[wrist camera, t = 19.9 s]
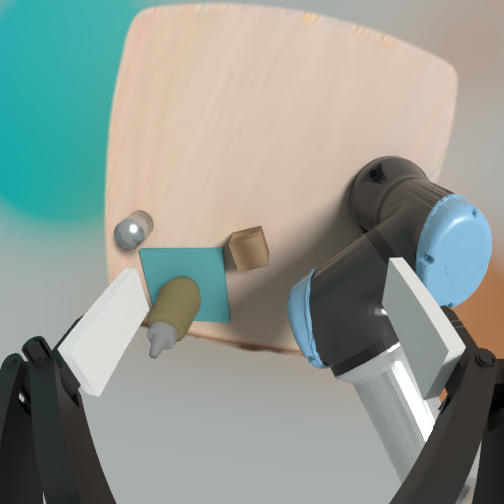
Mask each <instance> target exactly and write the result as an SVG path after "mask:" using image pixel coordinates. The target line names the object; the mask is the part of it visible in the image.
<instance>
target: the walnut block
mask: <svg viewBox="0 0 504 504" xmlns="http://www.w3.org/2000/svg"><path fill="white" fill-rule="evenodd" d="M229 247H230V250H231V253H232V256H233V258H234V261H235V264H236V267H237V269H238V272H240V271H245V270H249V269H254V268H258V267H263V266H267V265H268V263H269V250H268V246H267V243H266V240H265V236H264V233H263V230H262V226H258V227H254V228H250V229H246V230H242V231H238V232H234V233H233V234H232V237H231V239H230V242H229Z"/></svg>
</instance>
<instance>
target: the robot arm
mask: <svg viewBox="0 0 504 504" xmlns="http://www.w3.org/2000/svg"><path fill="white" fill-rule="evenodd" d="M350 209H351V214H352V217H353V219H354V221H355V223H356V225H357V226H358V227H359V229H360V230H361V231H362V233H363V235H362V236H361V237H359V238H358V239H357V240H355V241H354V242H353V243H351V244H350V245H348V246H347V247H346V248H344V249H343V250H342V251H340V252H339V253H337V254H336V255H335V256H333V257H332V258H330V259H329V260H328V261H326V262H325V263H323V264H322V265H320V266H319V267H318V266H317V267H315V268H314V269H312V271H311V272H310V273H309V274H308V275H307V276H306V277H304V278H303V279H302V280H300V281H299V282H298V283H296V284H295V285H294V286H293V288H292V289H291V291H290V294H289V298H288V317H289V322H290V326H291V329H292V332H293V335H294V338H295V340H296V342H297V344H298V346H299V348H300V350H301V352H302V353H303V355H304V356H305V357H308V361H309V362H310V363H311V364H312V365H313V366H314V367H317V368H320V369H322V368H325V369H326V368H329V367H330V368H331V370H332V372H333V374H334V376H335V378H336V379H338V380H342V381H345V382H348V383H351V384H353V385H354V387H355V389H356V391H357V393H358V395H359V396H360V399H361V401H362V403H363V405H364V406H365V409H366V411H367V413H368V414H369V417H370V419H371V421H372V423H373V425H374V427H375V429H376V431H377V433H378V435H379V437H380V439H381V441H382V443H383V445H384V447H385V449H386V451H387V453H388V455H389V458H390V460H391V462H392V464H393V466H394V468H395V470H396V473H397V474H398V477H399V479H400V481H401V483H402V485H401V487H400V489H399V490H398V492H397V493H396V495H395V496H394V498H393V499H392V501H391V502H390V503H389V504H504V359H496V357H495V355H494V354H493V353H492V352H491V351H489V350H487V349H483V348H478V347H477V345H476V343H475V342H474V340H473V339H472V337H471V336H470V334H469V333H468V331H467V330H466V328H465V327H463V324H462V322H461V321H459V318H458V317H457V315H456V314H455V313H454V311H452V310H451V309H450V308H452V307H455V306H457V305H459V304H460V303H462V302H464V301H465V300H466V299H467V298H468V297H470V296H471V294H472V293H473V292H474V291H475V290H476V289H477V287H478V286H479V284H480V283H481V281H482V279H483V277H484V275H485V273H486V271H487V268H488V263H489V260H490V257H491V251H492V235H491V230H490V227H489V224H488V221H487V219H486V217H485V216H484V214H483V213H482V212H481V211H480V210H479V209H478V208H477V207H475V206H474V205H473V204H472V203H470V202H469V201H467V199H466V198H464V197H463V196H461V195H458V194H455V193H453V192H451V191H449V190H447V189H444V188H443V187H440V186H439V185H437V184H434V183H432V182H430V181H429V180H428V178H427V176H426V175H425V173H424V172H423V171H422V169H421V168H420V167H418V166H417V165H416V164H414V163H413V162H411V161H409V160H407V159H404V158H401V157H397V156H385V157H380V158H378V159H375V160H373V161H371V162H370V163H368V164H367V165H366V166H365V167H364V168H363V169H362V170H361V171H360V172H359V174H358V175H357V177H356V178H355V180H354V183H353V185H352V188H351V193H350ZM447 306H448V307H449V308H448V307H447ZM148 311H149V307H148V304H147V301H146V298H145V294H144V291H143V288H142V285H141V282H140V278H139V275H138V272H137V268H125V269H124V270H123V271H122V272H121V273H120V275H119V276H118V277H117V278H116V279H115V280H114V281H113V282H112V283H111V285H110V286H109V287H108V288H107V289H106V290H105V291H104V293H103V294H102V295H101V296H100V297H99V298H98V299H97V301H96V302H95V303H94V304H93V305H92V307H91V308H90V309H89V310H88V311H87V313H86V314H84V315H83V316H81V317H80V318H79V319H77V320H76V321H75V322H74V324H73V325H72V326H71V328H69V330H68V331H67V333H66V334H65V335H64V336H63V337H62V339H61V340H60V341H59V342H58V344H57V345H56V346H55V347H54V349H53V350H52V351H51V349H50V347H49V345H48V344H47V342H46V340H45V339H44V338H43V337H42V336H37V337H33V338H31V339H29V340H28V341H27V342H26V343H25V344H24V345H23V347H22V352H23V353H24V355H25V356H26V358H27V359H28V361H24V360H23V358H22V357H21V355H20V354H18V353H14V354H11V355H9V356H7V358H6V359H5V360H4V362H3V364H2V366H1V369H0V504H43V493H44V496H45V500H46V504H116V502H115V499H114V497H113V495H112V493H111V490H110V488H109V485H108V483H107V481H106V478H105V476H104V473H103V470H102V468H101V465H100V462H99V459H98V456H97V453H96V450H95V447H94V444H93V440H92V437H91V434H90V430H89V427H88V423H87V419H86V415H85V411H84V407H83V403H82V398H81V395H80V393H79V391H78V388H79V387H80V385H81V386H82V387H83V389H84V390H85V392H86V393H87V394H91V395H94V396H98V397H100V394H101V393H102V391H103V389H104V387H105V386H106V384H107V382H108V380H109V378H110V376H111V374H112V373H113V371H114V369H115V367H116V366H117V364H118V362H119V360H120V359H121V357H122V355H123V353H124V351H125V350H126V348H127V346H128V345H129V343H130V341H131V340H132V337H133V336H134V334H135V333H136V331H137V329H138V328H139V326H140V324H141V323H142V321H143V319H144V318H145V316H146V314H147V313H148ZM444 387H445V388H446V391H447V393H448V395H447V396H446V398H445V399H444V401H443V402H442V404H441V402H440V400H439V396H440V394H441V392H442V391H443V389H444ZM19 393H21V395H22V396H23V397H24V402H22V401H21V400H20V399H19ZM481 439H482V442H481ZM480 442H481V453H480V461H479V468H478V474H477V478H472V477H469V472H470V470H471V467H472V464H473V462H474V459H475V456H476V453H477V451H478V448H479V445H480Z"/></svg>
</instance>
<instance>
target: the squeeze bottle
mask: <svg viewBox="0 0 504 504" xmlns="http://www.w3.org/2000/svg"><path fill="white" fill-rule="evenodd" d="M200 306H201V296H200V290H199V286H198V285H197V283H196V282H195V281H194V280H193V279H191V278H190V277H186V276H178V277H176V278H174V279H172V280H170V281H169V282H167V283H165V284H163V286H162V287H161V289H160V291H159V293H158V295H157V298H156V300H155V303H154V305H153V308H152V310H151V312H150V315H149V317H148V327H149V330H148V332H147V337H148V339H149V341H150V342H151V348H150V354H149V355H150V357H152V358H156V357H158V355H159V354H160V353H161V352H162V350H163V349H170V348H172V347H173V346H174V345H175V343H176V342H178V341H181V340H182V339H183V338H184V336H185V335H186V333H187V331H188V329H189V327H190V326H191V324H192V322H193V320H194V319H195V317H196V315H197V313H198V311H199V310H200Z"/></svg>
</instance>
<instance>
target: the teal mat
mask: <svg viewBox="0 0 504 504" xmlns="http://www.w3.org/2000/svg"><path fill="white" fill-rule="evenodd" d="M139 252H140V256H141V261H142V265H143V269H144V274H145V278H146V282H147V286H148V290H149V293H150V297H151V301H152V305H154V303H155V300H156V298H157V295H158V293H159V291H160V289H161V287H162V286H163V284H165V283H167V282H169V281H170V280H172V279H174V278H176V277H178V276H186V277H190V278H191V279H193V280H194V281H195V282H196V283H197V285H198V286H199V290H200V296H201V306H200V310H199V311H198V313H197V315H196V317H195V319H194V320H193V321H209V322H230V314H229V305H228V295H227V285H226V275H225V265H224V254H223V248H141V249H140V250H139Z"/></svg>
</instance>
